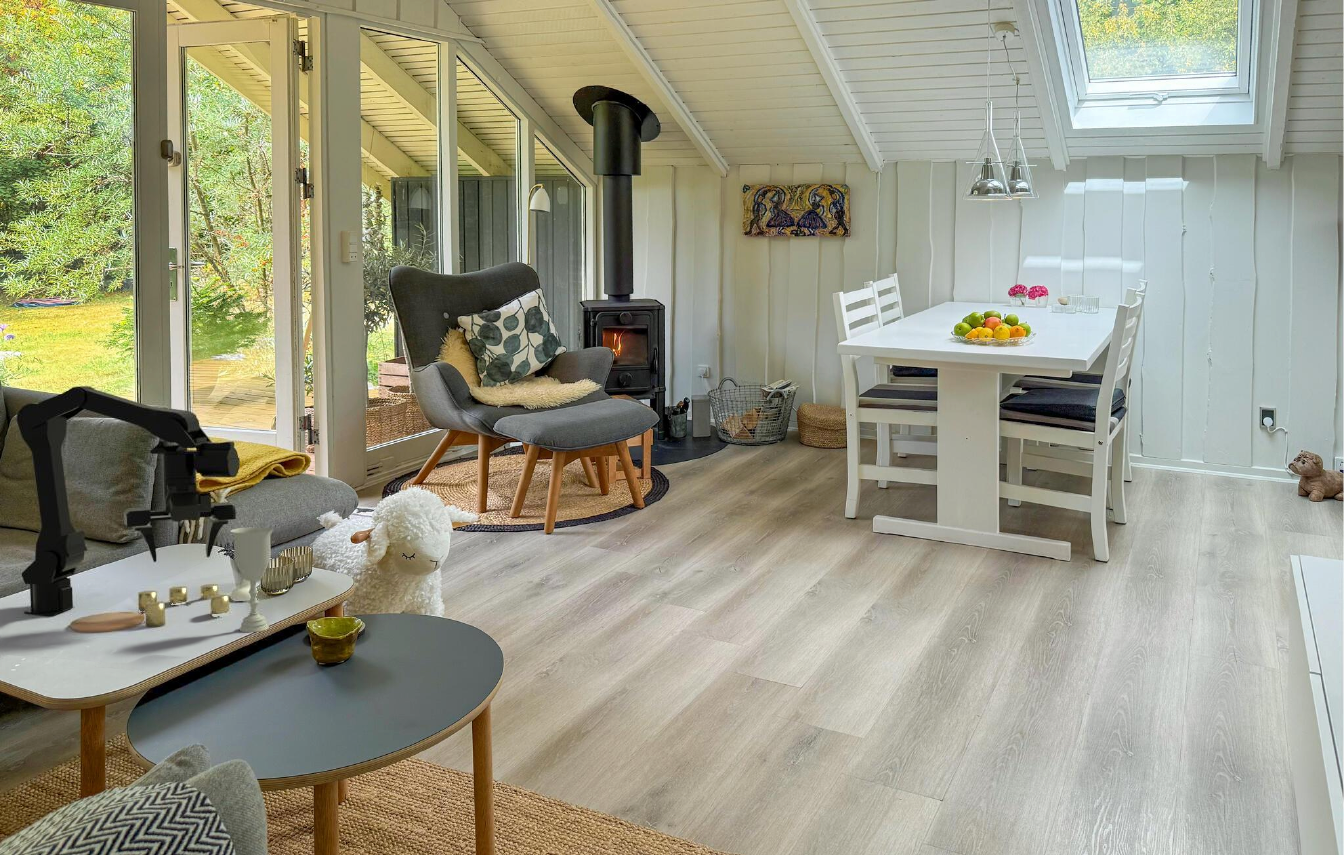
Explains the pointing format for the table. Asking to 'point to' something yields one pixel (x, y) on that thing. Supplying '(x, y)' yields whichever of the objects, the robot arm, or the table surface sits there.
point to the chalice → (252, 568)
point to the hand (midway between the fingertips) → (181, 559)
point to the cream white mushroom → (242, 591)
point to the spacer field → (178, 595)
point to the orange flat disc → (107, 622)
